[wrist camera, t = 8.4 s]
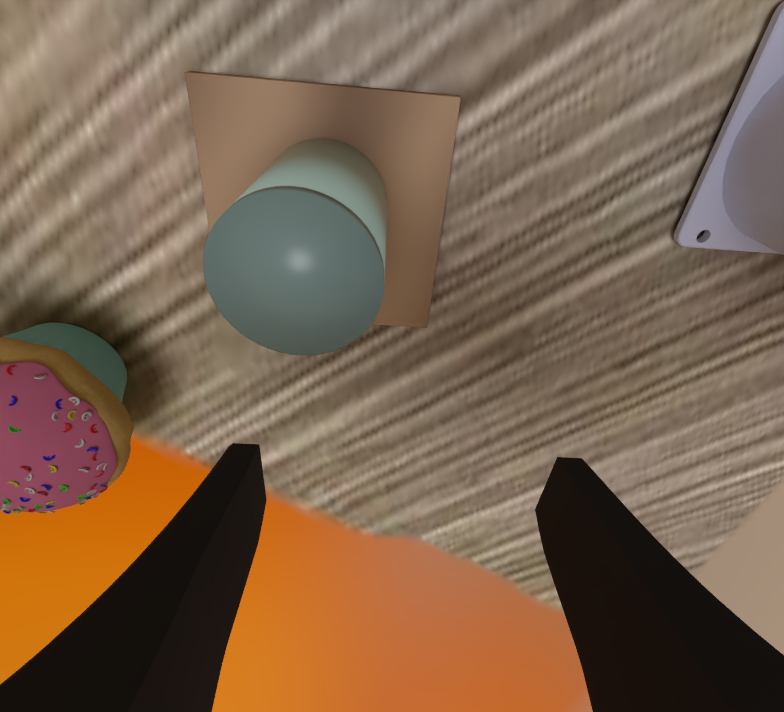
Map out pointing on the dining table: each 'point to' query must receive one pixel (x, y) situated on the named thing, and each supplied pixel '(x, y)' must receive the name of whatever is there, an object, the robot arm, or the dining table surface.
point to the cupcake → (60, 417)
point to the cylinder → (302, 251)
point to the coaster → (348, 125)
